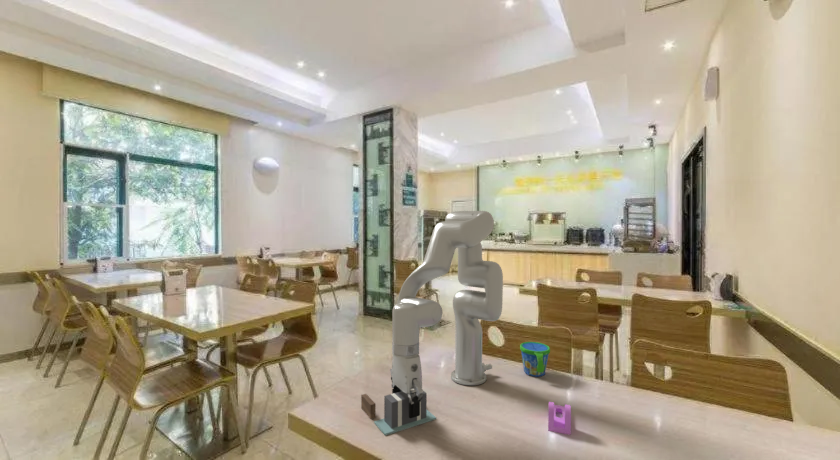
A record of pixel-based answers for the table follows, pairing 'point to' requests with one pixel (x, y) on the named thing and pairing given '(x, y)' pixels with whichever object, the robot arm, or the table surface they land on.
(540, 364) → the snack cup
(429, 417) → the rubber mat
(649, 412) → the table surface
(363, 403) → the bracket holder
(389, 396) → the banded grey block
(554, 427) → the bracket
